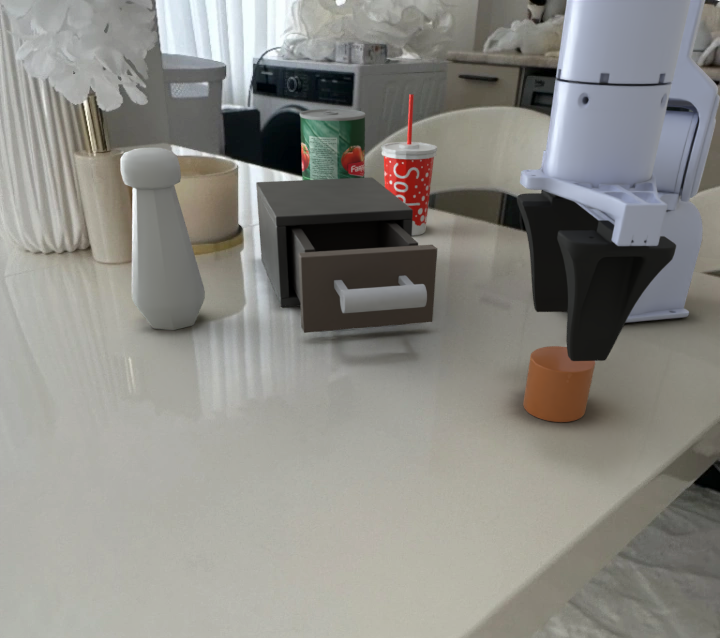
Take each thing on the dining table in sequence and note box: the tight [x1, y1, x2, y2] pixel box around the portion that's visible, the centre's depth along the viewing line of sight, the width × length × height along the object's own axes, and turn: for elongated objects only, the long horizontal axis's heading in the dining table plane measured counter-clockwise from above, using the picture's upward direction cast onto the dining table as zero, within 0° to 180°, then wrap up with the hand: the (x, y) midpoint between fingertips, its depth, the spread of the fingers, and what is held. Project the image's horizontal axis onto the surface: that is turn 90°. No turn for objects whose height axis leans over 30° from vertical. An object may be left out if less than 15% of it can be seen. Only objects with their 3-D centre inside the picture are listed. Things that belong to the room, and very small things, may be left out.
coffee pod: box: [522, 345, 596, 423], centre depth 46 cm, size 4×4×4 cm
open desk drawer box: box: [255, 176, 413, 308], centre depth 66 cm, size 14×12×8 cm
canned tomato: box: [299, 108, 367, 180], centre depth 88 cm, size 8×8×11 cm
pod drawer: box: [286, 220, 438, 334], centre depth 57 cm, size 17×10×6 cm, turn 14°
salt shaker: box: [120, 147, 206, 331], centre depth 55 cm, size 6×6×13 cm
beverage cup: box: [380, 93, 438, 237], centre depth 79 cm, size 6×6×14 cm
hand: (567, 332), depth 44 cm, fingers open, 7 cm apart
